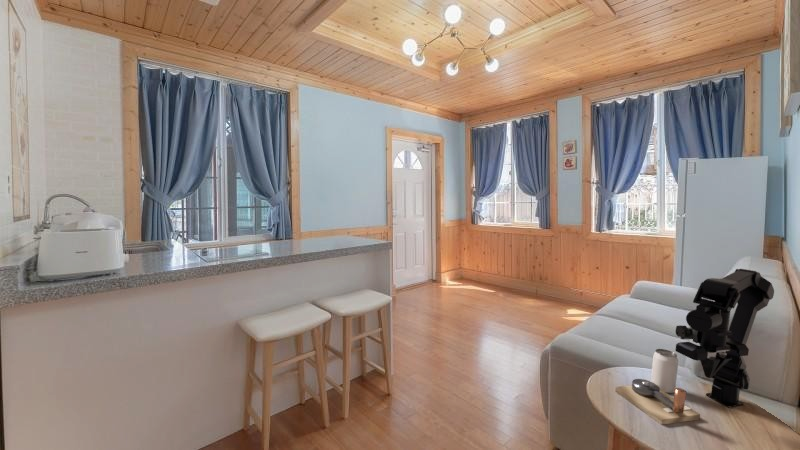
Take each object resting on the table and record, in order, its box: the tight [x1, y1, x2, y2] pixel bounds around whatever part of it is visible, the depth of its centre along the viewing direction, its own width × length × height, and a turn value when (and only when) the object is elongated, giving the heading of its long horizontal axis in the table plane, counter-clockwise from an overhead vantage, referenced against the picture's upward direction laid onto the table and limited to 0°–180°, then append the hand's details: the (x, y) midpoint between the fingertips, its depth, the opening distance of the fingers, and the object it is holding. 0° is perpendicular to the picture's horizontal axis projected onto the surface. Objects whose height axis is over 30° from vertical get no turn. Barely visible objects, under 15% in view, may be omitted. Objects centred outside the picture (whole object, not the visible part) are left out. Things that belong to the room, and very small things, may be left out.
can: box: [650, 348, 679, 394], centre depth 114 cm, size 6×6×12 cm
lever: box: [631, 378, 687, 414], centre depth 105 cm, size 16×7×7 cm, turn 9°
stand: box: [614, 384, 701, 425], centre depth 106 cm, size 13×16×2 cm
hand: (708, 377), depth 101 cm, fingers closed
